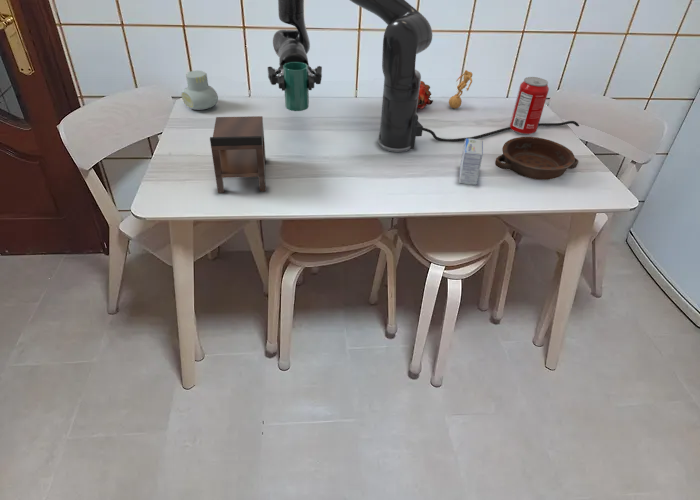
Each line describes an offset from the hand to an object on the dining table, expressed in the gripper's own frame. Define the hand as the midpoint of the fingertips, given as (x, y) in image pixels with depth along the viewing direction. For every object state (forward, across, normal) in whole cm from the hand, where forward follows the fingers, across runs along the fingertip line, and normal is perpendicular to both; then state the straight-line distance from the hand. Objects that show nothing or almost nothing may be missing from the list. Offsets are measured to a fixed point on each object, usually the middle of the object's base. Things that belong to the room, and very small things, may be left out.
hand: (296, 86), depth 119 cm
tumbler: (-2, 0, +6) cm, 6 cm away
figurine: (-30, +52, +19) cm, 63 cm away
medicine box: (+12, +42, +19) cm, 48 cm away
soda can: (-13, +67, +20) cm, 71 cm away
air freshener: (-33, -28, +19) cm, 48 cm away
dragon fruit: (-31, +39, +19) cm, 53 cm away
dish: (+9, +61, +19) cm, 65 cm away
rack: (+8, -14, +19) cm, 25 cm away
